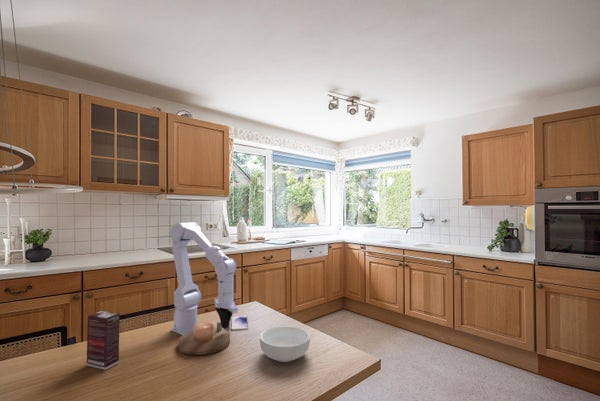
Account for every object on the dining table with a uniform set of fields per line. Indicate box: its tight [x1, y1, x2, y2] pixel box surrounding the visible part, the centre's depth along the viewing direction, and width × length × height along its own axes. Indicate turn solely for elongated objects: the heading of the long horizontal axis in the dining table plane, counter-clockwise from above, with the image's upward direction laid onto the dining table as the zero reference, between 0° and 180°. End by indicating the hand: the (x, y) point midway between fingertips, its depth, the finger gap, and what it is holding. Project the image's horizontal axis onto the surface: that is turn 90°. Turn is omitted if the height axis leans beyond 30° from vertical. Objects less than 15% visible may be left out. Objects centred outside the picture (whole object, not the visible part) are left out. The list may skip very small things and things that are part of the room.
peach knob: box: [193, 322, 214, 342], centre depth 107 cm, size 7×7×4 cm
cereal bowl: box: [259, 325, 311, 363], centre depth 98 cm, size 17×17×7 cm
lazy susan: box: [177, 320, 231, 356], centre depth 107 cm, size 18×18×5 cm
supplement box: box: [86, 310, 121, 371], centre depth 93 cm, size 9×5×16 cm, turn 71°
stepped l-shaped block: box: [224, 323, 231, 333], centre depth 117 cm, size 2×3×4 cm, turn 143°
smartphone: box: [230, 315, 249, 332], centre depth 127 cm, size 7×1×15 cm
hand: (225, 327), depth 111 cm, fingers closed
